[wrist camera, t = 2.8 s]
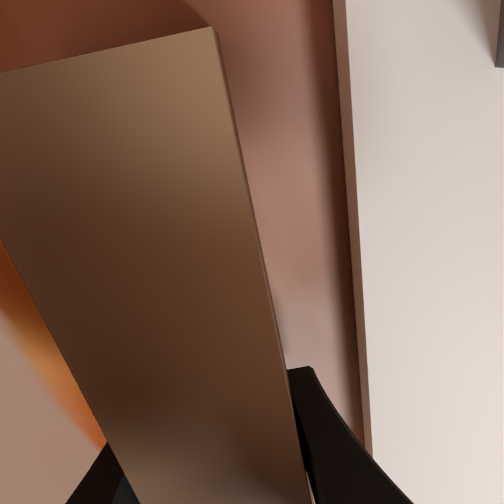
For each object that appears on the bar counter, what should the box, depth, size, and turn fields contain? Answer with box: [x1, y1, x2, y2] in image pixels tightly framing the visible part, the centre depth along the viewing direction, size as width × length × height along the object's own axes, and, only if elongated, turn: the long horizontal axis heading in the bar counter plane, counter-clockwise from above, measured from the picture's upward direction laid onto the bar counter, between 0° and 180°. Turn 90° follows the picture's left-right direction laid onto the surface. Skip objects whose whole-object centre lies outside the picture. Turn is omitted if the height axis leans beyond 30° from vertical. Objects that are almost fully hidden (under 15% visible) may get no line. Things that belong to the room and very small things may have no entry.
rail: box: [0, 26, 314, 504], centre depth 11 cm, size 4×18×4 cm, turn 11°
